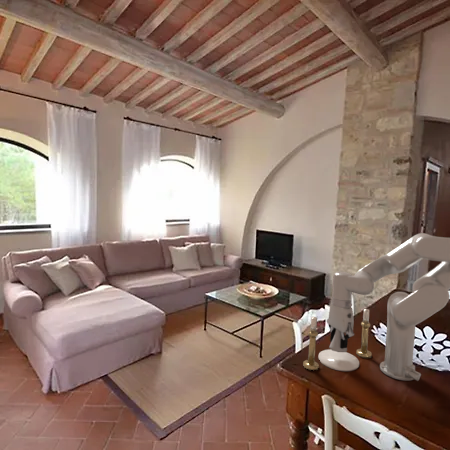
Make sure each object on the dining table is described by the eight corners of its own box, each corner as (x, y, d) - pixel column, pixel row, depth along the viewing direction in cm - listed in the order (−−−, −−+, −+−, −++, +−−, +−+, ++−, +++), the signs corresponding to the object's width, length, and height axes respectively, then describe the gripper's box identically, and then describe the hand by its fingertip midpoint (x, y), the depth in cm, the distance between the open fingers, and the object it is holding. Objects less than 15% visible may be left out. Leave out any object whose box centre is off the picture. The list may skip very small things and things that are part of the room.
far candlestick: (374, 356, 135) (377, 311, 133) (363, 359, 133) (366, 313, 131) (363, 350, 141) (366, 306, 139) (353, 352, 139) (355, 308, 137)
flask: (348, 354, 127) (350, 330, 126) (330, 351, 128) (331, 328, 127) (345, 345, 134) (347, 323, 133) (328, 343, 135) (329, 321, 135)
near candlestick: (321, 369, 125) (325, 319, 123) (310, 372, 122) (313, 321, 121) (311, 361, 130) (314, 314, 129) (299, 364, 128) (303, 316, 126)
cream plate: (368, 366, 127) (368, 364, 127) (336, 374, 121) (336, 372, 121) (339, 348, 142) (339, 347, 142) (310, 354, 136) (310, 353, 136)
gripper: (364, 308, 123) (361, 352, 125) (334, 295, 139) (331, 334, 140) (349, 310, 120) (346, 356, 122) (320, 296, 136) (317, 337, 138)
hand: (338, 344), depth 131 cm, fingers closed on flask, 5 cm apart
